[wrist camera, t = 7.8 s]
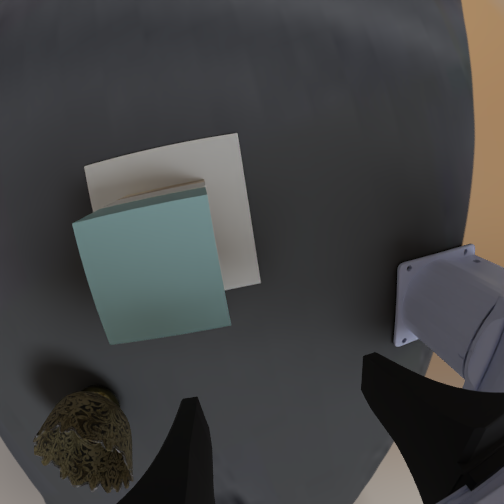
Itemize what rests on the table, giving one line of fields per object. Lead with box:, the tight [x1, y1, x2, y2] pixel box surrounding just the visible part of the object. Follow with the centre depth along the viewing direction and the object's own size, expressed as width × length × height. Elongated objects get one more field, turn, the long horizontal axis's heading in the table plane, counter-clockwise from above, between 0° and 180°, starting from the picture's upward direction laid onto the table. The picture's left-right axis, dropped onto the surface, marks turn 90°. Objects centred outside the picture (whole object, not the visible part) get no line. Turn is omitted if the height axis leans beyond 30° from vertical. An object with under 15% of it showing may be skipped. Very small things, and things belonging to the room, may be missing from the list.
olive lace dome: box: [33, 385, 133, 493], centre depth 19 cm, size 8×7×8 cm
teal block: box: [72, 187, 231, 345], centre depth 13 cm, size 5×5×4 cm
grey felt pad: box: [84, 133, 261, 290], centre depth 20 cm, size 10×10×1 cm
